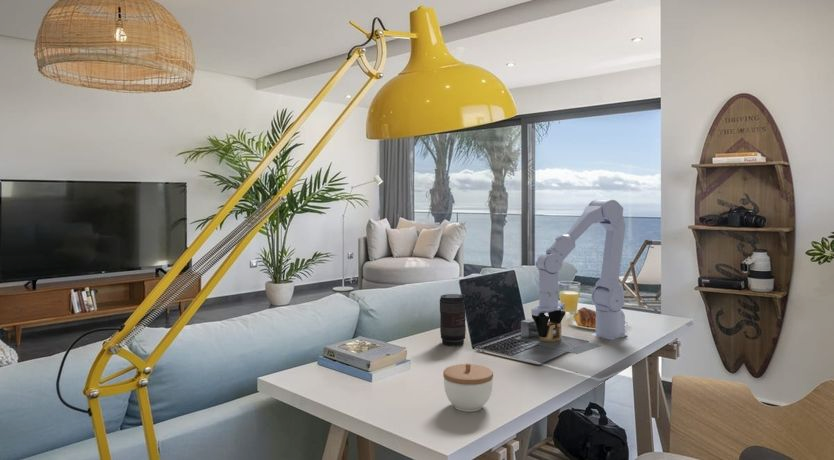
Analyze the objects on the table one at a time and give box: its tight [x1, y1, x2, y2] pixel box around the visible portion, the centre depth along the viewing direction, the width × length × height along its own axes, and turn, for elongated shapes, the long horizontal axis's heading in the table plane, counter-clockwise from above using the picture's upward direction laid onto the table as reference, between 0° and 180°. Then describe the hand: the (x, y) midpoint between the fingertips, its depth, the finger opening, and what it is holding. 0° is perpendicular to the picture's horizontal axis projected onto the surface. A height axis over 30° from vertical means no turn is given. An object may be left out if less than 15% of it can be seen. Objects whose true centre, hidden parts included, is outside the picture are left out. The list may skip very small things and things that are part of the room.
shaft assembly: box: [520, 317, 557, 339], centre depth 170 cm, size 7×10×5 cm, turn 40°
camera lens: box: [439, 293, 467, 347], centre depth 168 cm, size 8×8×15 cm
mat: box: [513, 336, 602, 355], centre depth 166 cm, size 13×23×1 cm, turn 40°
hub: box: [540, 320, 562, 343], centre depth 167 cm, size 5×4×5 cm
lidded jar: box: [442, 362, 494, 413], centre depth 117 cm, size 11×11×9 cm
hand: (548, 335), depth 168 cm, fingers open, 6 cm apart
